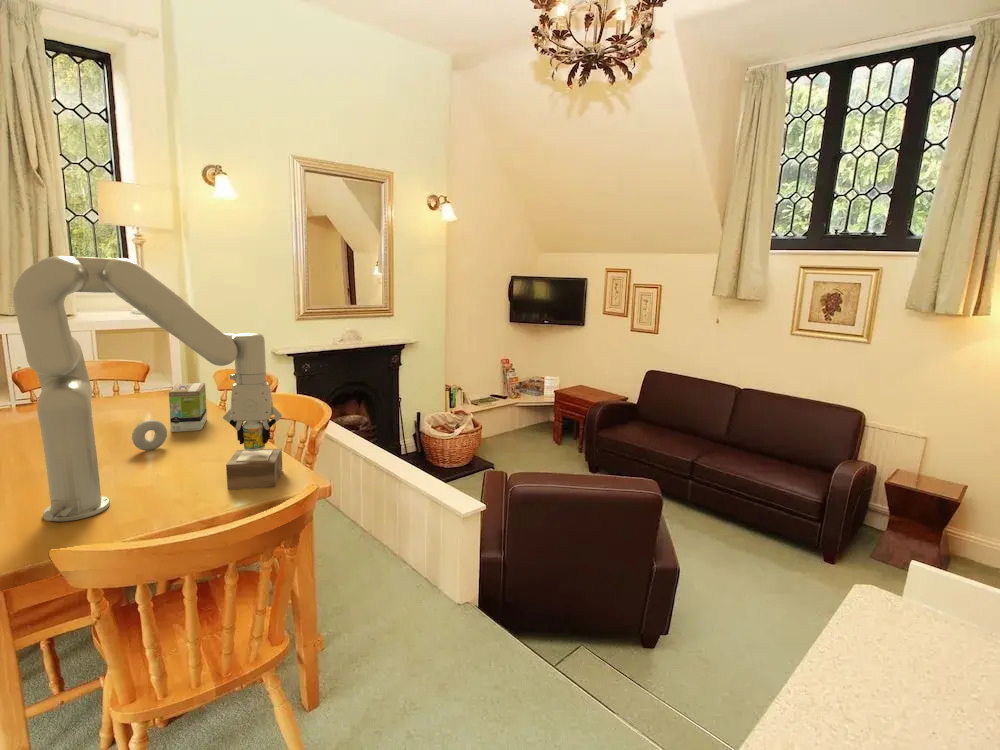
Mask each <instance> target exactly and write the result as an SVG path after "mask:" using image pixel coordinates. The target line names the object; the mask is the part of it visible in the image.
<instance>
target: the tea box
mask: <svg viewBox="0 0 1000 750" xmlns="http://www.w3.org/2000/svg"><path fill="white" fill-rule="evenodd" d="M168 400H169V401H168V404H169V423H170V424H169V425H170V432H171V433H173V432H174V433H177V432H178V433H179V432H193V431H195V432H196V431H201V430H202V429H203V427H204V425H205V424H206V422H207V420H208V417H207V415H208V413H207V410H208V409H207V392H206V383H205V382H200V383H199V382H197V383H196V382H195V383H193V382H192V383H191V382H190V383H186V382H185V383H176V384H175V385H174V386H173V387H172V388H171V389H170V390H169V391H168Z"/></svg>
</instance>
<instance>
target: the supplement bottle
mask: <svg viewBox="0 0 1000 750" xmlns="http://www.w3.org/2000/svg"><path fill="white" fill-rule="evenodd" d="M263 430H264V425H263V423H262V421H244V422H243V439H244V443H243V450H246V451H259V450H262V449H266V444H264V443H263Z"/></svg>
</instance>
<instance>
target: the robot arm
mask: <svg viewBox="0 0 1000 750" xmlns="http://www.w3.org/2000/svg"><path fill="white" fill-rule="evenodd" d="M73 293H89V294H90V293H91V294H92V293H93V294H94V293H95V294H96V293H99V294H101V293H103V294H105V293H107V294H109V293H110V294H112V293H113V294H115V295H116V296H117V297H119V298H120V299H121V300H123V301H124V302H126V303H127V304H128V305H130V306H132V307H133V308H134V309H135V310H137V311H138V312H140V313H141V314H143V316H145V317H146V318H148V319H149V320H150V321H151V322H153V323H155V324H156V325H157V326H158V327H160V328H161V329H162V330H163V331H166V332H167V333H169V335H170V334H171V335H172V336H173V337H175V338H176V339H178V340H179V341H180V342H182V343H183V344H185V346H187V347H189V349H191V350H192V351H194V352H195V353H197V355H199V356H201V357H202V358H204V359H205V360H206V361H207V362H209V363H210V364H212V365H215V366H219V367H223V366H228V365H230V364H232V363H233V362H234V368H235V370H234V371H235V372H234V373H233V374H229V379H230V380H232V381H234V382H235V383H233V384H232V386H231V397H230V409H229V410H228V411H227V412H226V413H225V414H224V415H223V417H222V419H223V420H225V421H226V422H227V423H229V425H231V427H233V428H234V430H235V431H236V435H237V436H236V437H237V441H239V445H244V439H243V424H244V423H245V422H246V421H261V422H262V423H263V425H264V430H263V443H264V444H265V445H266V444H268V442H269V441H270V440H271V427H272V426H274V425H275V424H276V423H277V422H278V421H279V420H281V418H282V417H283V413H281V412H280V411H279V410H278V409H277V408H276V407H275V406H274V403H273V395H272V389H271V386H270V383H269V382H268V381H267V366H266V344H265V343H266V341H265V336H264V335H262V334H261V333H257V332H242V333H226V332H222V331H221V330H219V329H218V328H217V327H216V326H214V325H213V324H212V323H210V322H209V321H207V320H206V319H205V318H204V317H203V316H201V315H200V314H199V313H198V312H197V311H196V310H195V309H194V308H193V307H192V306H191V305H190V304H189V303H188V302H187V301H185V300H184V298H182V297H181V296H180V295H178V294H176V293H175V292H174V291H173V290H172V289H170V288H169V287H168V286H166V285H165V284H164V283H162V282H161V281H160V280H159V279H157V278H156V277H155V276H153V275H152V274H151V273H150V272H148V271H147V270H146V269H144V268H143V267H142V266H141V265H139V264H138V263H137V262H135V261H133V260H131V259H129V258H125V257H121V258H118V257H113V258H111V257H105V258H104V257H91V256H90V257H87V256H69V255H53V256H47V257H46V258H43V259H41V260H39V261H37V262H35V263H34V264H32V265H30V266H29V267H28V268H26V270H24V271H23V272H22V273H21V274H20V276H19V277H18V279H17V280H16V282H15V285H14V289H13V293H12V295H13V296H12V298H13V306H14V307H13V308H14V310H15V314H16V318H17V323H18V327H19V332H20V336H21V339H22V342H23V346H24V347H23V348H24V350H25V351H24V352H25V358H26V362H27V363H28V366H29V367H30V368H31V370H33V371H34V372H35V373H36V374H37V375H36V376H37V379H38V382H39V386H40V388H41V389H40V390H41V392H40V394H39V396H38V399H37V405H36V413H37V418H38V422H39V427H40V432H41V433H40V434H41V438H42V445H43V454H44V459H45V460H44V461H45V470H46V475H47V484H48V485H47V486H48V491H49V492H48V494H49V499H50V505H49V506H47V507H46V508H45V509H44V510H43V513H42V518H43V520H45V521H50V522H71V521H77V520H78V521H79V520H81V519H86V518H89V517H93V516H95V515H98V514H100V513H103V512H104V511H106V510H107V508H109V506H110V502H111V501H110V498H108V497H106V496H104V495H102V492H101V484H100V483H101V482H100V473H99V464H98V463H99V462H98V455H97V453H98V452H97V445H96V437H95V429H94V421H93V413H92V411H93V410H92V400H93V399H92V398H93V389H92V385H91V382H90V381H91V380H90V378H89V372H88V370H87V366H86V362H85V356H84V353H83V350H82V347H81V345H80V343H79V342H78V340H77V339H76V338H75V337H73V336H72V333H71V329H70V326H69V321H68V315H67V311H66V309H65V304H64V303H65V300H66V298H67V297H68V295H71V294H73ZM273 415H274V417H273V418H272V416H273ZM270 419H271V420H270Z"/></svg>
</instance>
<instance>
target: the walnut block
mask: <svg viewBox="0 0 1000 750" xmlns="http://www.w3.org/2000/svg"><path fill="white" fill-rule="evenodd" d="M282 450H283V449H282V448H264V449H262V450H259V451H246V450H245V449H237V450H236V451H235V452H234V454H233V455H232V456H231V458H230V459H229V460H228V462H227V463H226V464H225V466H226V467H225V468H226V483H227V484H226V485H227V487H226V488H227V490H241V489H247V490H248V489H265V488H266V489H267V488H268V489H269V488H276V486H277V484H278V483H279V480H280V478H281V476H282V474H283V471H282V470H283V453H282V452H283V451H282ZM280 475H281V476H280ZM279 477H280V478H279Z"/></svg>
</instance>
